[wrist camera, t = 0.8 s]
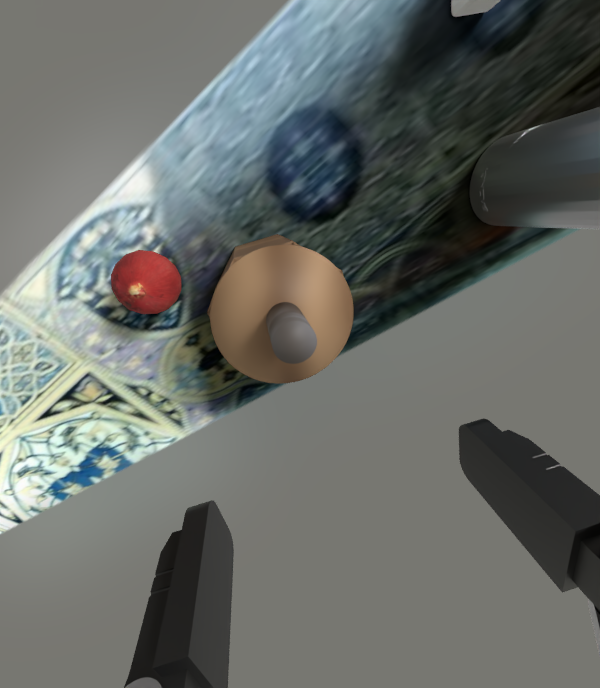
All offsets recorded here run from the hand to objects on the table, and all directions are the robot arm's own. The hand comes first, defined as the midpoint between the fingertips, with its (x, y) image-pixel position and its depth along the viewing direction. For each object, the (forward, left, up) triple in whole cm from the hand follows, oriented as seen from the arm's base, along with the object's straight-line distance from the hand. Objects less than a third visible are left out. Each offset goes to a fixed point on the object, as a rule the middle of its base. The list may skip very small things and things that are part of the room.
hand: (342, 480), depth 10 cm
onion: (+11, -5, -28) cm, 30 cm away
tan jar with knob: (0, 0, -28) cm, 28 cm away
